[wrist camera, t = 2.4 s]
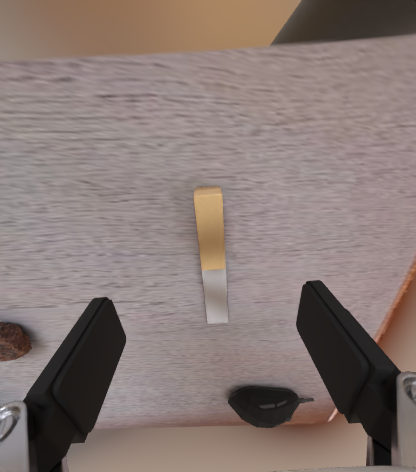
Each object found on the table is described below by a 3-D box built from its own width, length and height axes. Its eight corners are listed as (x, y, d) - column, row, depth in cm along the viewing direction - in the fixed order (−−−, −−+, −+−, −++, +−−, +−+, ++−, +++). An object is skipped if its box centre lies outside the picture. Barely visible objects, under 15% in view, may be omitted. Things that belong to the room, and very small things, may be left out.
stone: (39, 321, 24) (17, 345, 22) (41, 355, 28) (23, 380, 25) (-20, 309, 24) (-51, 332, 21) (-11, 345, 27) (-36, 370, 24)
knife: (192, 187, 17) (190, 196, 15) (222, 185, 17) (224, 193, 15) (207, 320, 25) (207, 341, 22) (227, 319, 25) (230, 340, 22)
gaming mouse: (306, 406, 35) (316, 437, 32) (225, 401, 34) (227, 432, 31) (320, 389, 32) (333, 421, 29) (231, 383, 31) (234, 415, 28)
